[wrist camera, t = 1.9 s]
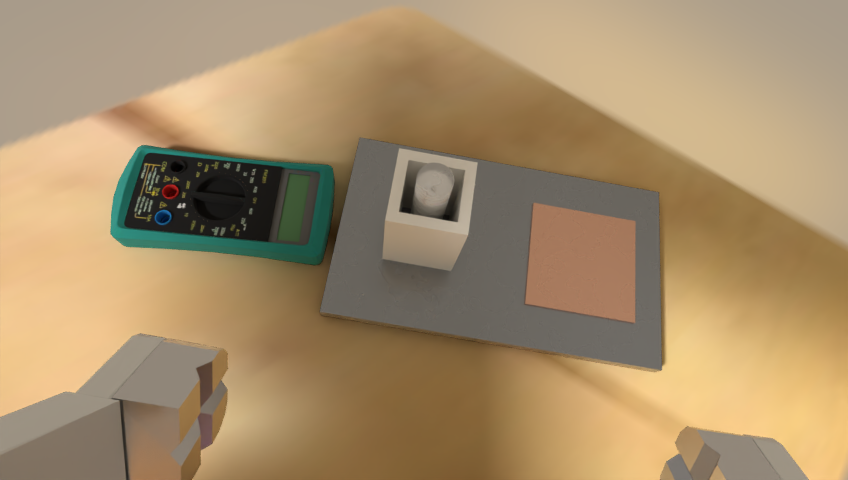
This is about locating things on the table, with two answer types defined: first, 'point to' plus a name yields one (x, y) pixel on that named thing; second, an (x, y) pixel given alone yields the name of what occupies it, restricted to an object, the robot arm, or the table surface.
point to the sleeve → (425, 235)
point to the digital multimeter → (224, 205)
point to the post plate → (508, 262)
